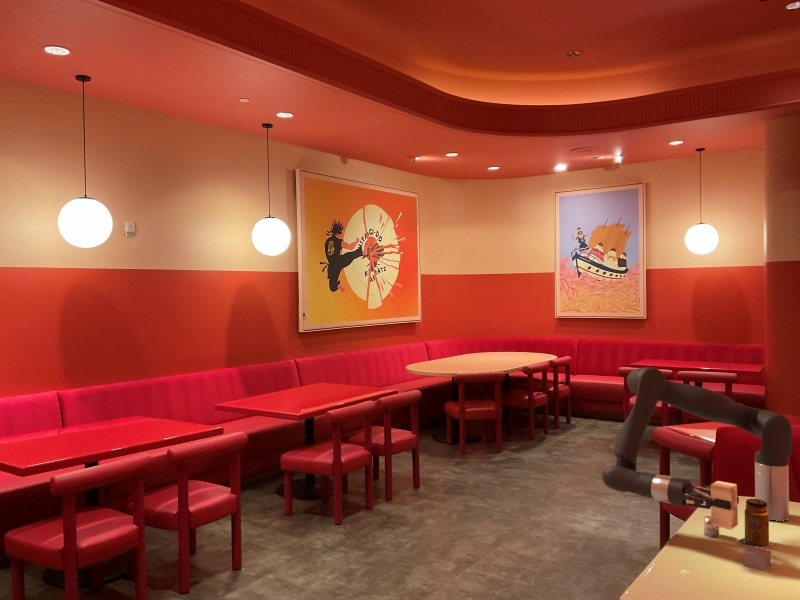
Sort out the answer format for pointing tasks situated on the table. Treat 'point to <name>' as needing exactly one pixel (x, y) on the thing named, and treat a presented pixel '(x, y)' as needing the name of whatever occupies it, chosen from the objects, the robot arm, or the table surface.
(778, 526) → the table surface
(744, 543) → the condiment
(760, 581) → the table surface
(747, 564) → the rubber block
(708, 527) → the metal cylinder
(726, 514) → the maple block
